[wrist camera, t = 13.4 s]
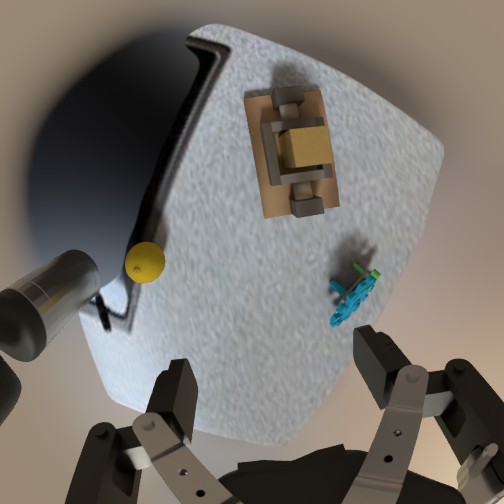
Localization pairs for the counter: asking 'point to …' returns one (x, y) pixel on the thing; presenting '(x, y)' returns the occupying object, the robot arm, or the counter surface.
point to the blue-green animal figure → (353, 294)
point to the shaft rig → (269, 157)
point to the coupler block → (305, 147)
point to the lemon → (145, 262)
